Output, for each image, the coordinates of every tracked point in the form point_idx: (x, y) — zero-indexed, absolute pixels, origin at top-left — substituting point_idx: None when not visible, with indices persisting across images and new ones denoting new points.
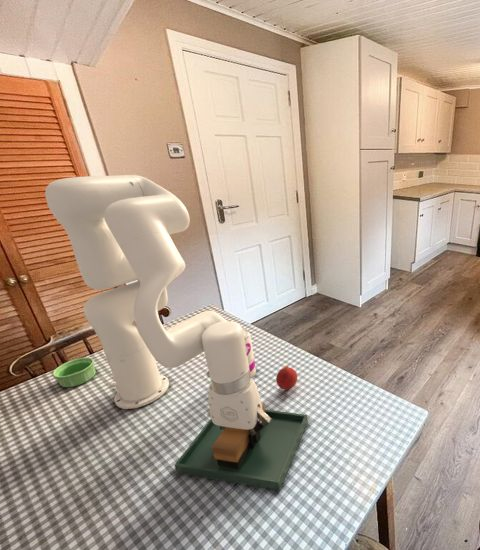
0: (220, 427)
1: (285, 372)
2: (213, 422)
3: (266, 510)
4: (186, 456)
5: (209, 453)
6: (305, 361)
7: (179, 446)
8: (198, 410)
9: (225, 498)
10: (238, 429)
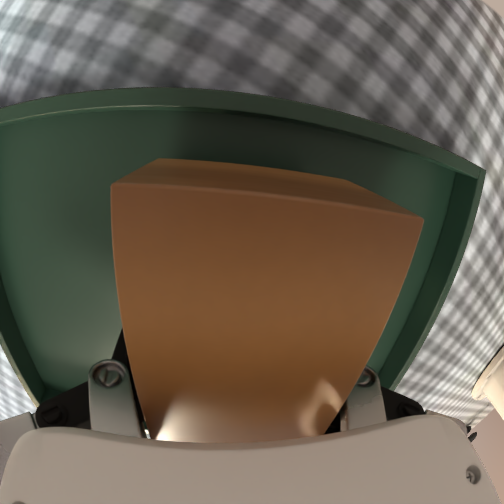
0: (377, 383)
1: None
2: (453, 427)
3: (15, 40)
4: (457, 217)
5: None
6: None
7: (464, 264)
8: (427, 373)
9: (195, 26)
10: (223, 408)
